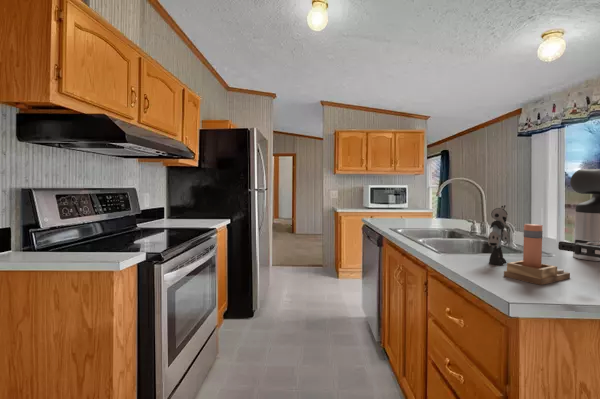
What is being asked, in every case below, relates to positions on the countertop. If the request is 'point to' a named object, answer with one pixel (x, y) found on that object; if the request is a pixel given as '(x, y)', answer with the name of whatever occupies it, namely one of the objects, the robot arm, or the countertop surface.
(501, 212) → the robot
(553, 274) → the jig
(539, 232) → the banded orange cylinder
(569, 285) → the countertop surface
